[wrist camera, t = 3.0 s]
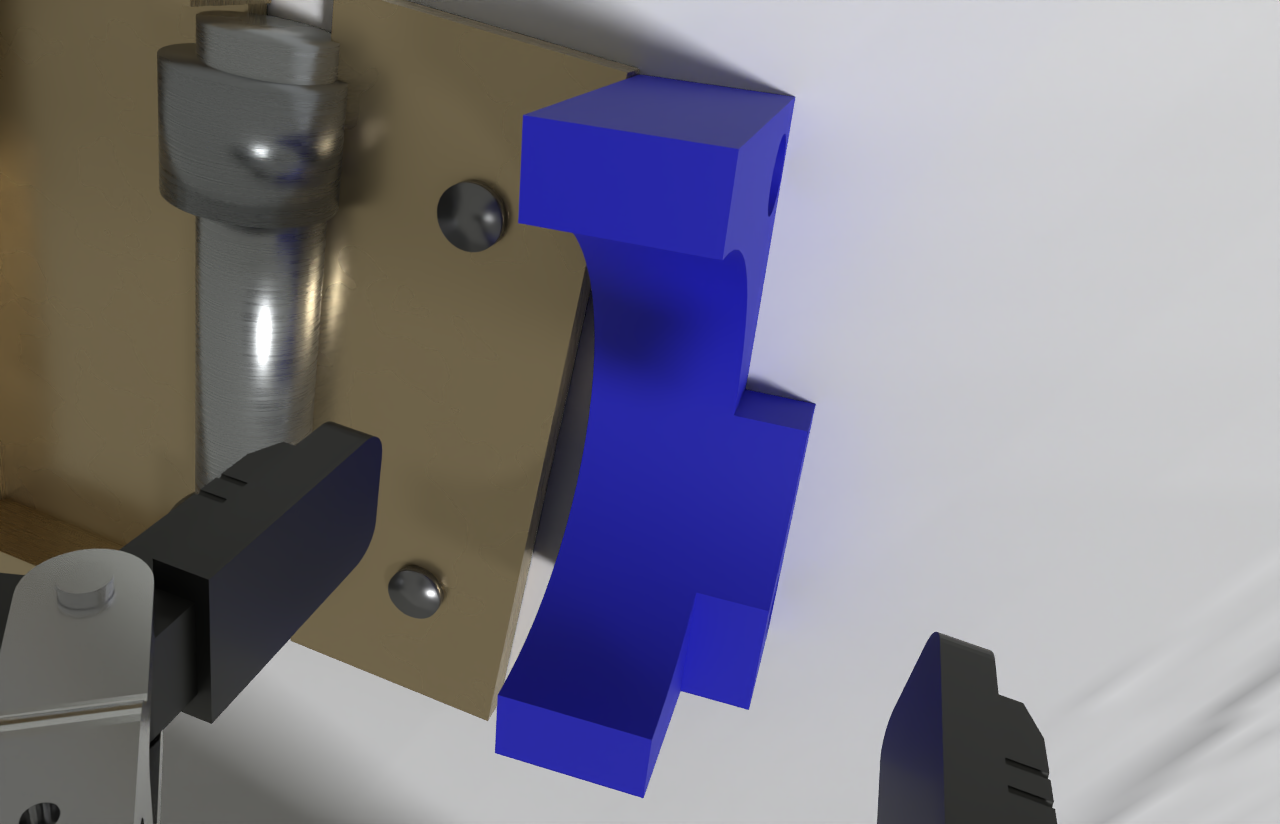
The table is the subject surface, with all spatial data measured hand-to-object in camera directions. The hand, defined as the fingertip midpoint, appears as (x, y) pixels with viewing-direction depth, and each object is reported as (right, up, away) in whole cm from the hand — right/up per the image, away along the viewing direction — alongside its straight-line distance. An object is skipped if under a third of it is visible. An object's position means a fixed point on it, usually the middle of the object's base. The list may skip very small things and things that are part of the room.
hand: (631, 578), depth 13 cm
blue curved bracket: (+2, +3, +7) cm, 8 cm away
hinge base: (-9, +4, +10) cm, 14 cm away
